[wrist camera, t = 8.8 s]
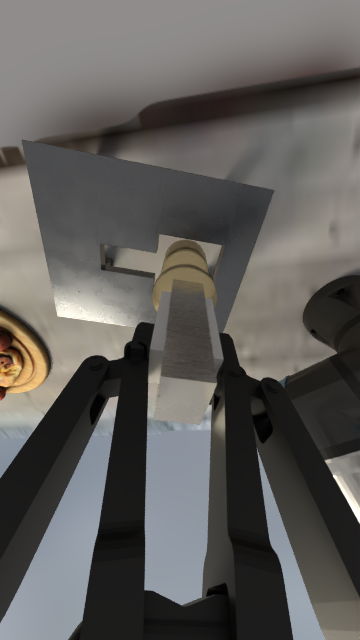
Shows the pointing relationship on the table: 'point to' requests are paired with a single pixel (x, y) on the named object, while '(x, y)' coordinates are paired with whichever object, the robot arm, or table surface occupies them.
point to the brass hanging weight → (185, 335)
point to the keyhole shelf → (133, 228)
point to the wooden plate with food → (20, 357)
